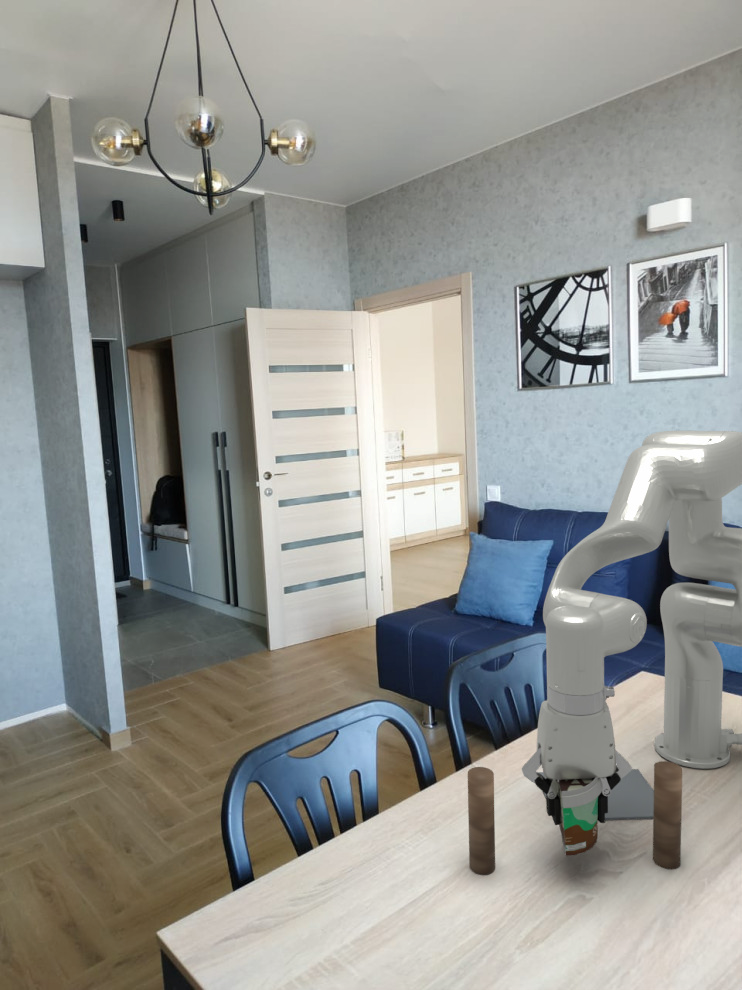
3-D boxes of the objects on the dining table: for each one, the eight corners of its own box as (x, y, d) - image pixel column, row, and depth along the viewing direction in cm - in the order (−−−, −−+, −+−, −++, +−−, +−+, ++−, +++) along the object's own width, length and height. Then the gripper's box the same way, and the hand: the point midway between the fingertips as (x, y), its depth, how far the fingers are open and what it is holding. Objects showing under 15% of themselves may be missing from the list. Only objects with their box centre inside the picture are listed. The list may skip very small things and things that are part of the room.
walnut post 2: (673, 852, 100) (675, 760, 99) (684, 868, 97) (687, 774, 95) (648, 853, 100) (650, 761, 99) (658, 869, 97) (660, 774, 95)
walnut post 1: (492, 857, 101) (491, 766, 99) (497, 874, 97) (495, 780, 95) (467, 858, 101) (466, 767, 99) (471, 875, 97) (469, 780, 95)
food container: (615, 862, 92) (610, 792, 91) (567, 863, 93) (562, 793, 92) (597, 807, 104) (593, 745, 103) (555, 808, 105) (550, 746, 104)
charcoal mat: (638, 771, 122) (638, 769, 122) (671, 818, 108) (671, 815, 108) (535, 774, 123) (535, 772, 122) (556, 821, 109) (555, 819, 109)
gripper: (628, 682, 99) (628, 799, 102) (507, 688, 100) (511, 805, 102) (648, 706, 92) (648, 831, 95) (518, 712, 92) (521, 838, 95)
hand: (577, 817), depth 98 cm, fingers closed on food container, 5 cm apart
